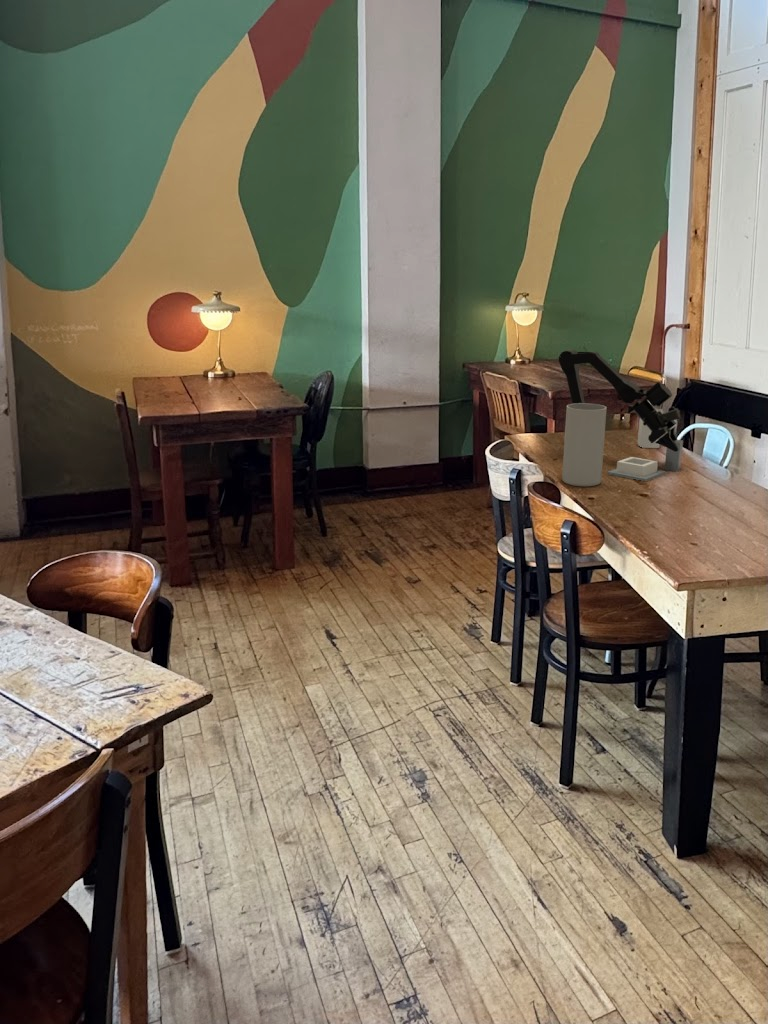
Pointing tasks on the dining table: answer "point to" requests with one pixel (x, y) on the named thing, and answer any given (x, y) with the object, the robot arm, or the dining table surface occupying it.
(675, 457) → the square bit
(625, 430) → the dining table surface
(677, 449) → the robot arm
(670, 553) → the dining table surface
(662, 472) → the socket block
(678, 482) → the dining table surface
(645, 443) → the milk carton
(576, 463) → the cylinder vase
